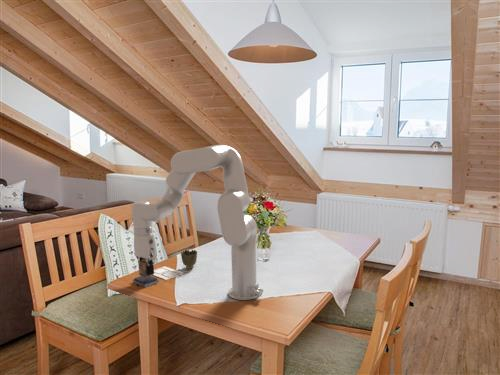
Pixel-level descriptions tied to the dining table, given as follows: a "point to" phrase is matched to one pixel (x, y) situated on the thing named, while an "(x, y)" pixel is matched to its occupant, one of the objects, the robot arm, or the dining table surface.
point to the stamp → (143, 267)
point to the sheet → (166, 273)
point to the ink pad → (145, 281)
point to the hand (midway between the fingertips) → (146, 272)
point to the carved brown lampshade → (189, 258)
